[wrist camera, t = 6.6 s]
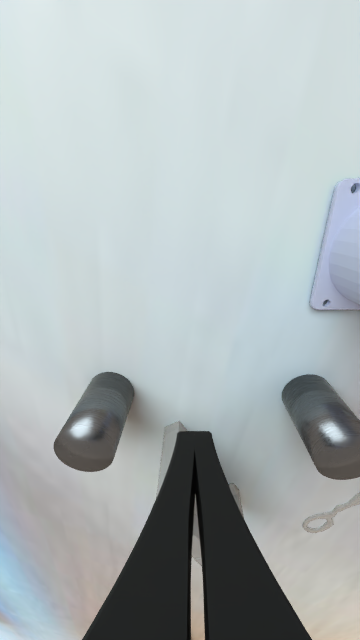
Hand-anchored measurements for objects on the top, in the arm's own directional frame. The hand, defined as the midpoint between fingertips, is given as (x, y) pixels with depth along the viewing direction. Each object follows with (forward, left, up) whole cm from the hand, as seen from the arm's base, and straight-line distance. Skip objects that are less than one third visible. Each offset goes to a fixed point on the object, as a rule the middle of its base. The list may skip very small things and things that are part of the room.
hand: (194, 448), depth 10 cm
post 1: (+7, +5, -9) cm, 13 cm away
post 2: (-10, +5, -9) cm, 15 cm away
